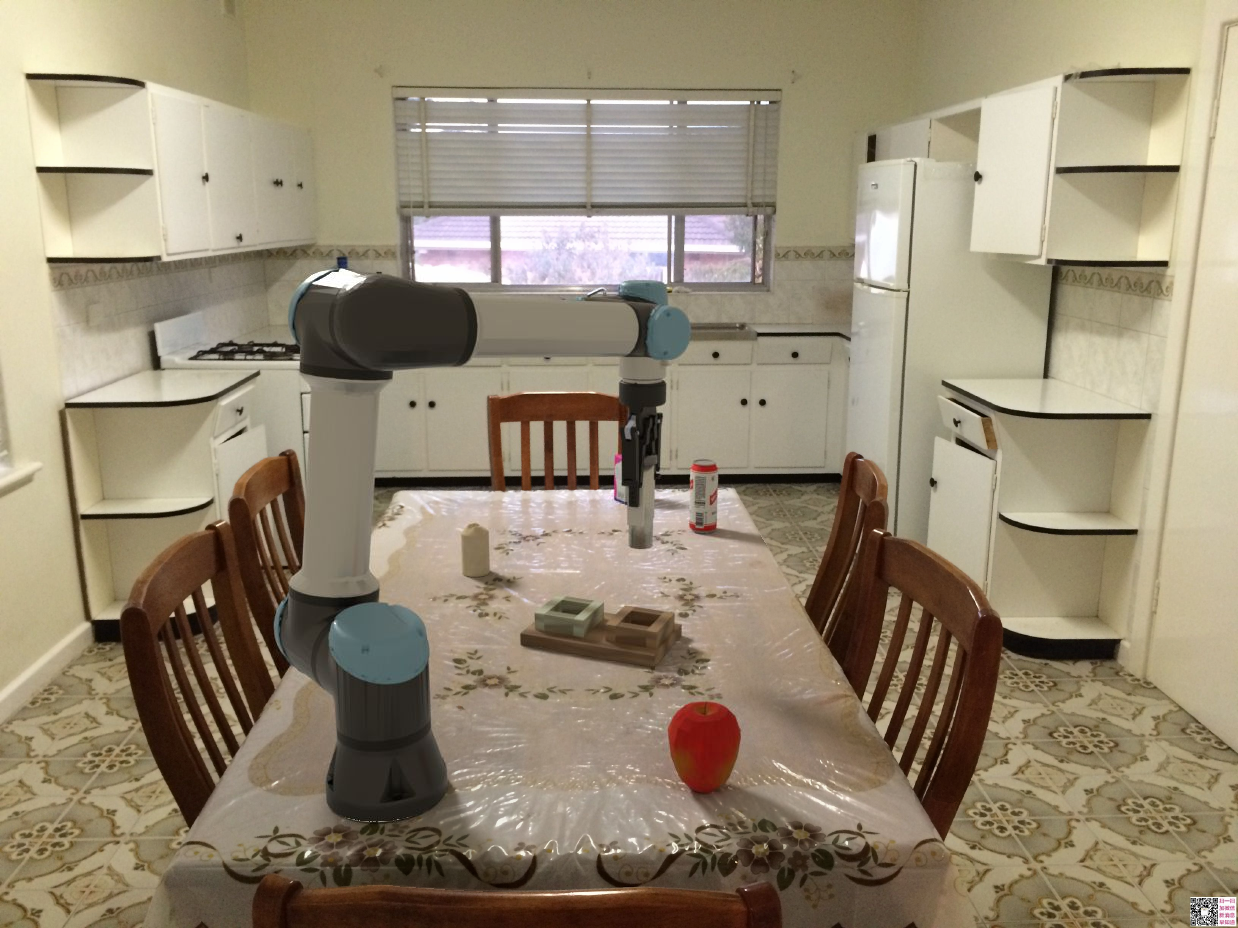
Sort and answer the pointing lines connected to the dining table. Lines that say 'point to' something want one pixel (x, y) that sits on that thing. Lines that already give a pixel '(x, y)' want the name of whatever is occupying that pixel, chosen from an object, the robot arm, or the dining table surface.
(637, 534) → the lock pin
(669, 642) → the socket board
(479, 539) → the candle
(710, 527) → the beer can
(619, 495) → the supplement box
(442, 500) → the dining table surface
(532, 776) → the dining table surface
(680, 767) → the apple
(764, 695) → the dining table surface
